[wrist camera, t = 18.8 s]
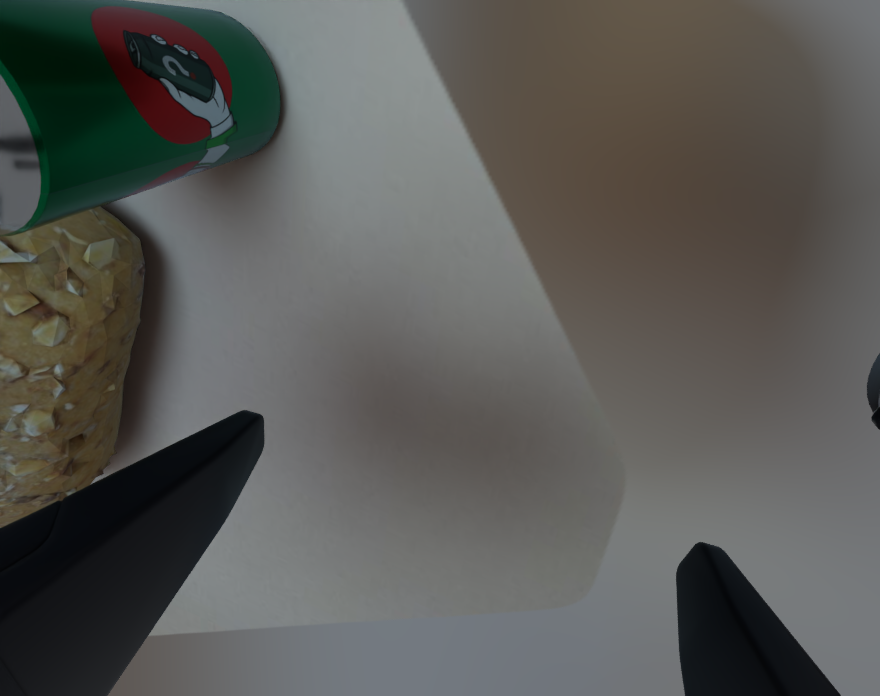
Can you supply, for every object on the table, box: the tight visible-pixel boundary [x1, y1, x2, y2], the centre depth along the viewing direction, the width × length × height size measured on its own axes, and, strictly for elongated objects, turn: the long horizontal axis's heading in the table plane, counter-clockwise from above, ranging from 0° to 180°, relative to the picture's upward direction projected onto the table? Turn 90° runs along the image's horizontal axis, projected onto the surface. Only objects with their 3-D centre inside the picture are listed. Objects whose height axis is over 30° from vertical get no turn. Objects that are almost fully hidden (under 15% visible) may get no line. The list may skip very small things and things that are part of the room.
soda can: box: [0, 0, 280, 237], centre depth 14 cm, size 5×5×12 cm
